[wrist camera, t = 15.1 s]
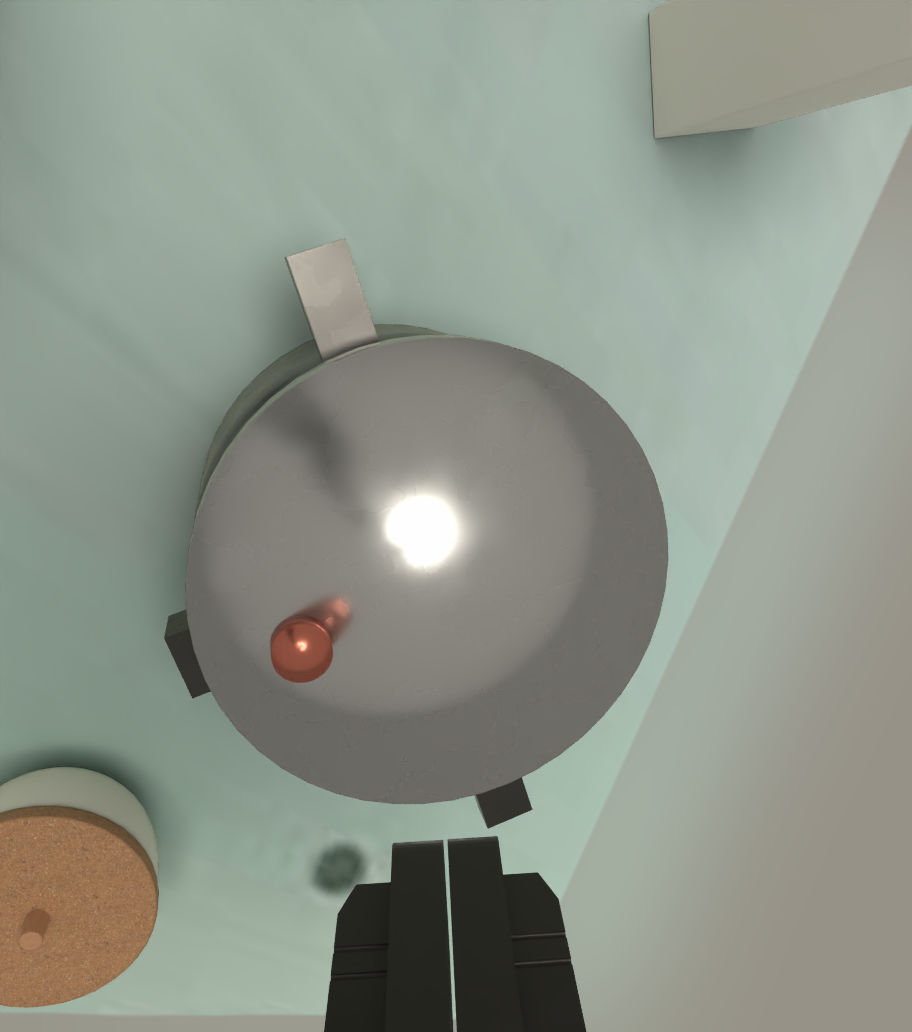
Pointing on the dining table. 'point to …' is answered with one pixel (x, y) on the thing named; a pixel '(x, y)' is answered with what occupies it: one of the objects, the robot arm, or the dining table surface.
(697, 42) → the milk
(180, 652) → the cooker pot
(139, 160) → the dining table surface
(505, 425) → the lid
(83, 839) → the lidded jar
